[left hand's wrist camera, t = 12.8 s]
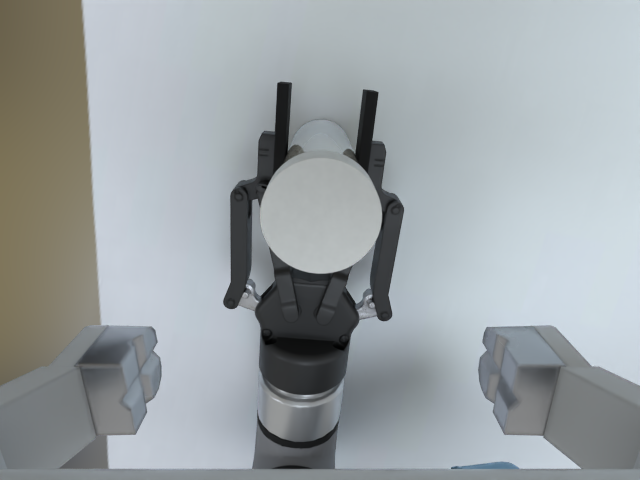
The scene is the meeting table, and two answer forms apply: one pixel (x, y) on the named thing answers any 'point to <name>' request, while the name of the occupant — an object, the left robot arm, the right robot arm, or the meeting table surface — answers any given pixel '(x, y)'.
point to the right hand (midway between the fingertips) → (327, 87)
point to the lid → (320, 212)
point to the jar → (320, 139)
